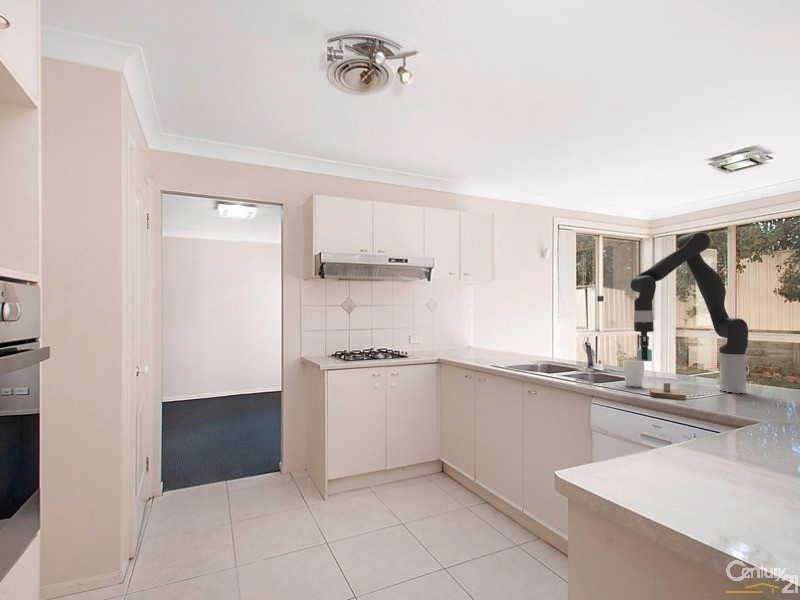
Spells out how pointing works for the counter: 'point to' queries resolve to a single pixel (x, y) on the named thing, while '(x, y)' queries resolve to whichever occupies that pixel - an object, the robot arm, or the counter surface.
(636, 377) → the cup
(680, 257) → the robot arm
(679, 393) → the stud block
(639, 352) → the cap
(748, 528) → the counter surface
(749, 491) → the counter surface
